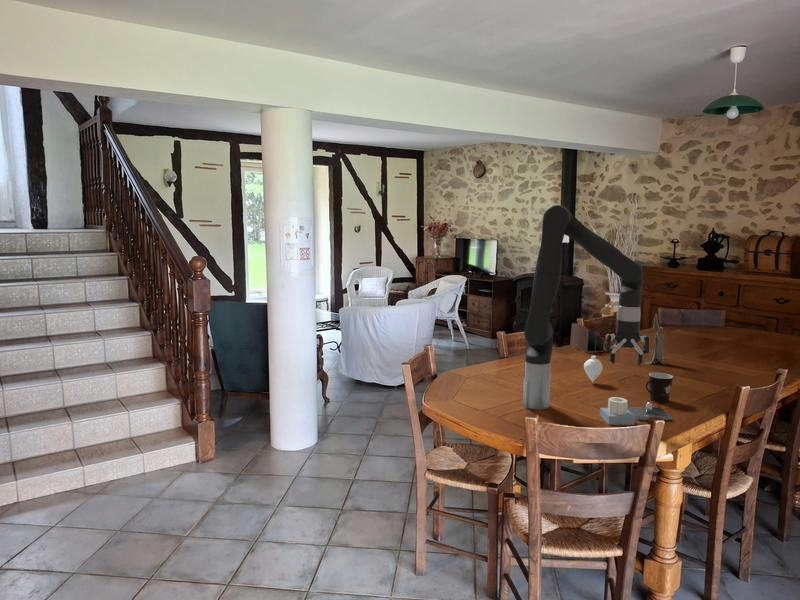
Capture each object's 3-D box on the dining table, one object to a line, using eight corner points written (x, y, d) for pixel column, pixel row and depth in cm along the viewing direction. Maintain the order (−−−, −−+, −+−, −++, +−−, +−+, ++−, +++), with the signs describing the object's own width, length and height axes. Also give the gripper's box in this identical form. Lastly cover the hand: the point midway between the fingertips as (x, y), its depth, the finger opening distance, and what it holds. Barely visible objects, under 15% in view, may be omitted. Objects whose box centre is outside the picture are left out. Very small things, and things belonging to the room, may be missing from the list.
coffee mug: (664, 397, 225) (666, 372, 224) (675, 403, 217) (677, 378, 216) (635, 397, 225) (637, 372, 224) (645, 404, 217) (647, 378, 215)
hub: (637, 420, 199) (637, 406, 198) (626, 411, 208) (627, 397, 208) (671, 420, 198) (672, 406, 198) (659, 411, 208) (660, 398, 208)
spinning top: (589, 386, 241) (591, 358, 239) (579, 381, 248) (580, 354, 246) (605, 384, 243) (606, 357, 241) (594, 380, 250) (596, 353, 248)
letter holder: (586, 353, 302) (587, 327, 300) (569, 345, 321) (570, 321, 319) (604, 353, 303) (605, 327, 301) (586, 345, 323) (587, 320, 321)
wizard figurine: (657, 366, 273) (661, 315, 270) (641, 363, 280) (644, 313, 277) (669, 363, 279) (673, 313, 276) (653, 360, 286) (656, 311, 283)
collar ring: (611, 414, 195) (612, 402, 195) (605, 409, 201) (606, 397, 201) (629, 414, 195) (629, 402, 195) (622, 409, 201) (623, 397, 201)
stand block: (608, 424, 194) (608, 416, 194) (599, 415, 203) (600, 407, 203) (634, 424, 194) (635, 416, 194) (625, 416, 203) (625, 408, 203)
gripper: (609, 319, 194) (606, 365, 197) (653, 321, 192) (649, 367, 194) (605, 316, 202) (602, 360, 204) (647, 317, 200) (644, 362, 202)
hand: (625, 364), depth 199 cm, fingers open, 8 cm apart
